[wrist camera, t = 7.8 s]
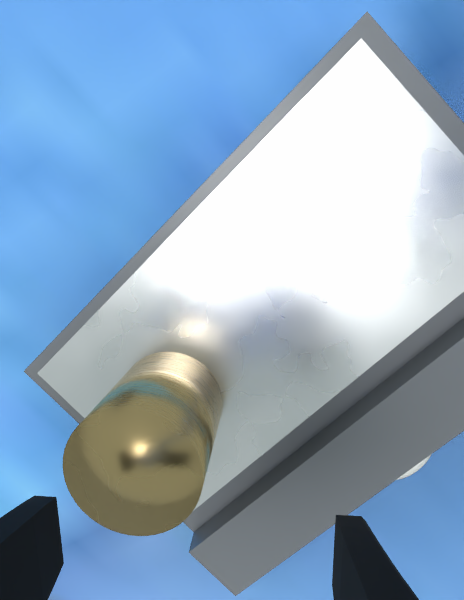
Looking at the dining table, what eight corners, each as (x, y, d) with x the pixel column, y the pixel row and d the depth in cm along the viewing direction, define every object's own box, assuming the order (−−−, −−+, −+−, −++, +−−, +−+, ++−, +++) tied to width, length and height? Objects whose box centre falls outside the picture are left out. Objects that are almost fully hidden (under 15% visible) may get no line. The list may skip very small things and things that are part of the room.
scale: (575, 291, 18) (648, 310, 15) (246, 540, 22) (241, 602, 19) (353, 39, 17) (375, -7, 13) (51, 353, 21) (7, 382, 18)
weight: (243, 391, 17) (231, 463, 12) (185, 466, 18) (153, 560, 13) (155, 331, 17) (107, 379, 12) (102, 409, 18) (38, 483, 13)
